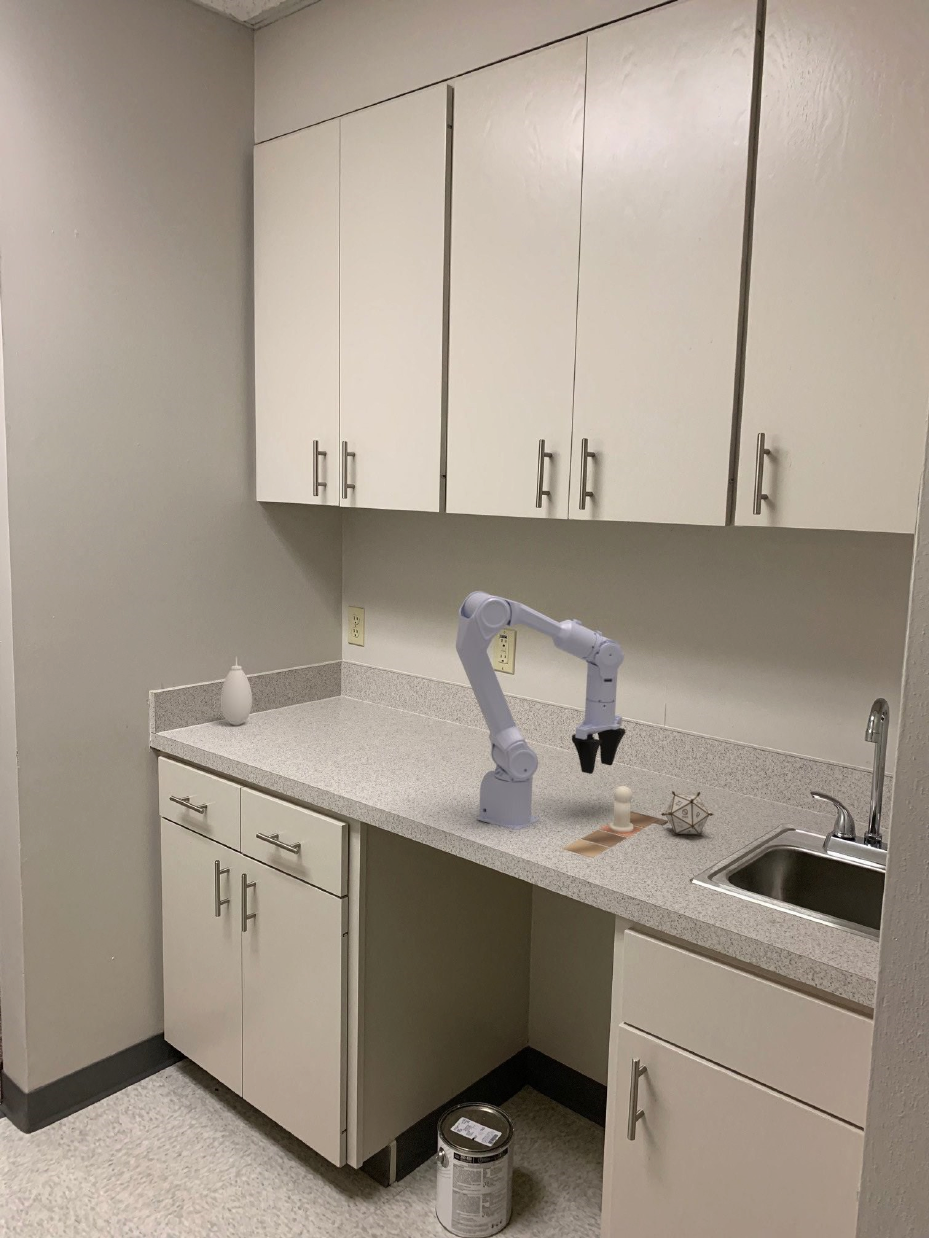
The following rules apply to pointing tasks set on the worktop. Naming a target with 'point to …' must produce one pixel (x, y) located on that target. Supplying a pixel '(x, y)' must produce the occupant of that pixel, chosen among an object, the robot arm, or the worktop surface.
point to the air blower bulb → (236, 696)
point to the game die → (687, 814)
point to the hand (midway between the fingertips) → (597, 768)
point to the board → (610, 836)
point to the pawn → (622, 811)
